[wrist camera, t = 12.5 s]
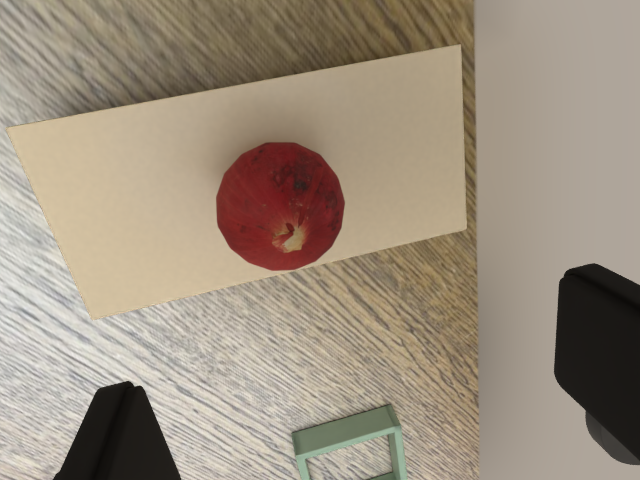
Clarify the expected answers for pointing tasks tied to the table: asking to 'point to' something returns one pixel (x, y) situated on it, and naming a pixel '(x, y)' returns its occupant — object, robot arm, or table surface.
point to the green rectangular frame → (352, 439)
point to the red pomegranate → (280, 206)
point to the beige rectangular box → (223, 150)
